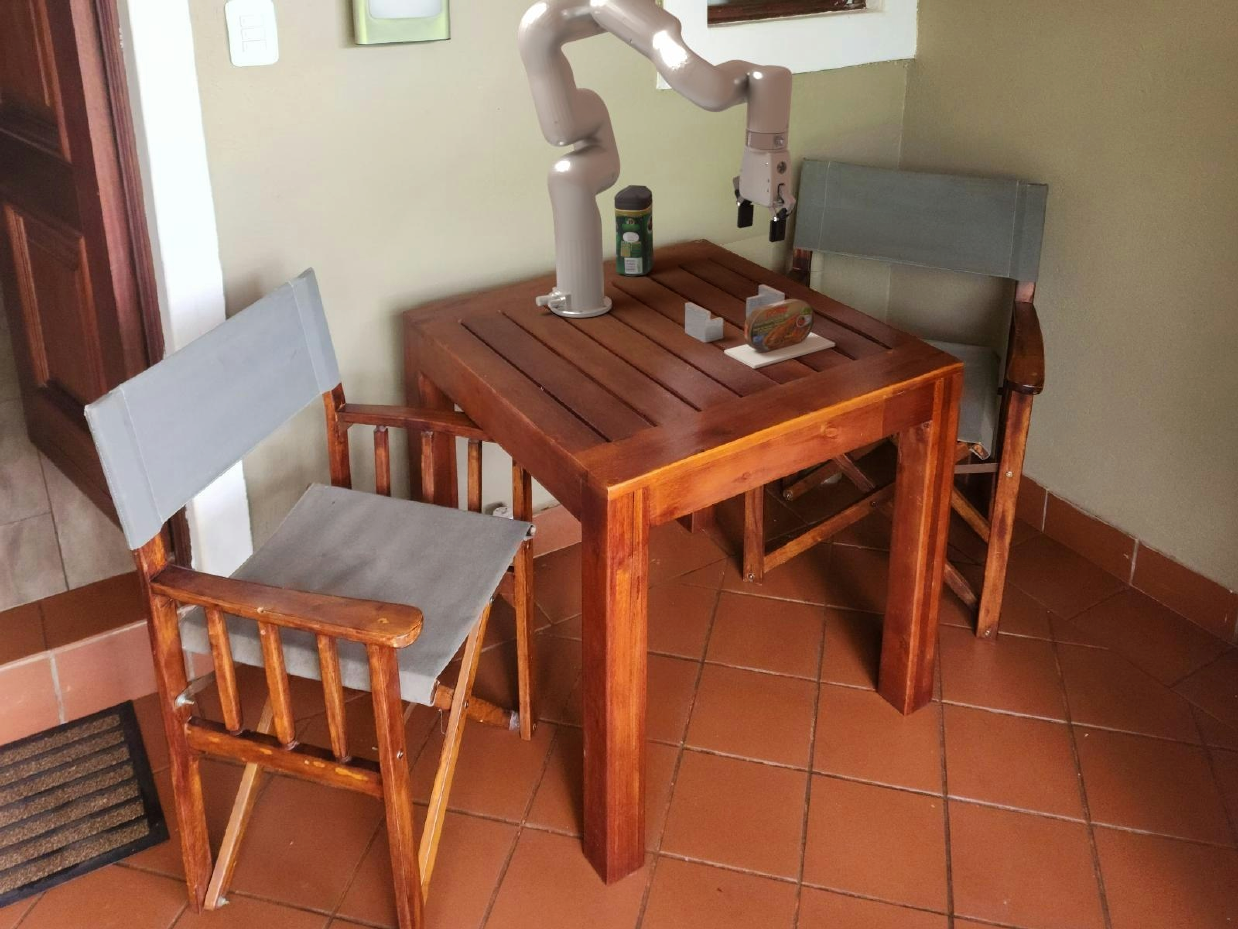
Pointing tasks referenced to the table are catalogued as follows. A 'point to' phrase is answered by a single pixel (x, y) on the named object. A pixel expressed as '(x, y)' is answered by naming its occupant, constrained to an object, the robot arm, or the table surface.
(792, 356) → the mat
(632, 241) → the coffee jar
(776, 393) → the table surface
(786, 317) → the tin
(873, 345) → the table surface
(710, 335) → the end brackets
